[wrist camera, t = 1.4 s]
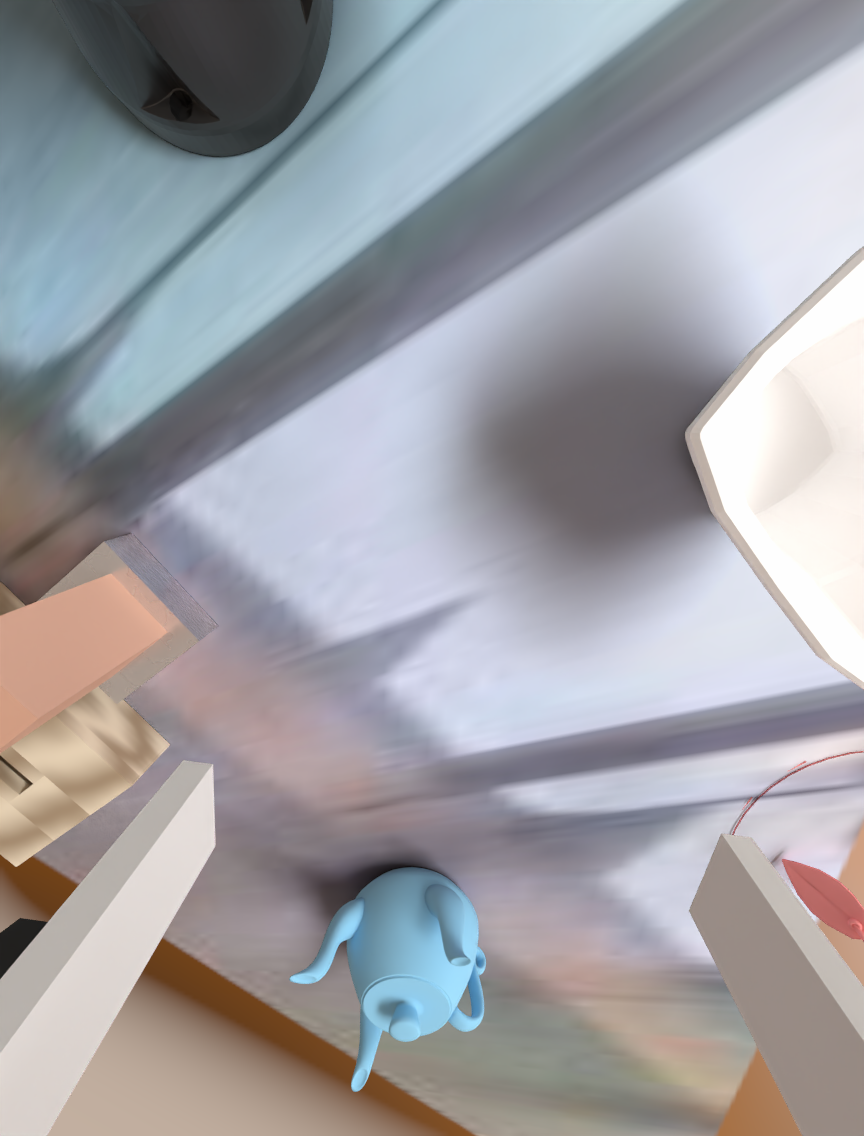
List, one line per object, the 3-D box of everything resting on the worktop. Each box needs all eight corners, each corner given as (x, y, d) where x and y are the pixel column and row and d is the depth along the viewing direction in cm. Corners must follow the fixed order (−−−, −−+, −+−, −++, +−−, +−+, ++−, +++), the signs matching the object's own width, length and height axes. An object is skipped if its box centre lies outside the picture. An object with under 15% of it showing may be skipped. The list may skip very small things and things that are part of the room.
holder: (55, 601, 36) (22, 614, 34) (132, 533, 34) (103, 541, 32) (141, 685, 38) (116, 704, 36) (218, 625, 36) (199, 641, 34)
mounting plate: (-103, 678, 39) (-179, 710, 35) (0, 581, 36) (-69, 602, 31) (64, 820, 43) (16, 866, 39) (170, 744, 40) (132, 785, 35)
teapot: (497, 944, 46) (510, 1080, 36) (364, 963, 47) (342, 1098, 38) (465, 839, 42) (469, 961, 32) (322, 864, 44) (285, 986, 34)
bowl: (807, 224, 27) (1161, 6, 13) (945, 461, 30) (1335, 475, 17) (565, 432, 31) (652, 424, 18) (711, 620, 34) (876, 732, 21)
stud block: (82, 610, 36) (-127, 704, 23) (136, 563, 35) (-54, 636, 22) (134, 661, 38) (-37, 778, 24) (188, 618, 36) (37, 718, 23)
